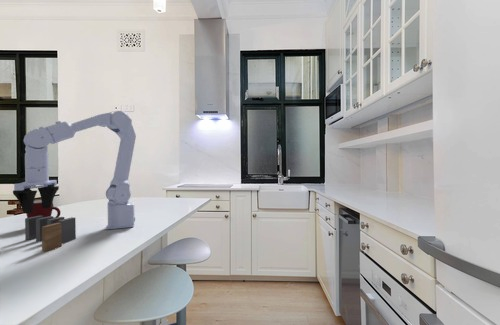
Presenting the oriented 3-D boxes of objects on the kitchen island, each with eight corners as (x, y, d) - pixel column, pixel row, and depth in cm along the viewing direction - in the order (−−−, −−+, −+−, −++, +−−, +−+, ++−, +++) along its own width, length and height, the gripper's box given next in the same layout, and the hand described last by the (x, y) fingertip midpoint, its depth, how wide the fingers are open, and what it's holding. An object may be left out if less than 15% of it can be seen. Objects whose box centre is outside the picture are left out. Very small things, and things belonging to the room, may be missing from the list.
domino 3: (53, 237, 83) (53, 216, 83) (40, 241, 79) (39, 219, 79) (50, 236, 83) (49, 216, 83) (36, 241, 79) (35, 219, 79)
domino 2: (64, 238, 82) (64, 216, 82) (51, 242, 78) (50, 220, 78) (60, 237, 82) (60, 216, 82) (47, 242, 78) (46, 219, 78)
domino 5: (75, 238, 81) (75, 217, 81) (62, 243, 77) (62, 220, 77) (71, 238, 81) (71, 217, 81) (58, 242, 77) (58, 220, 77)
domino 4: (61, 246, 74) (61, 223, 74) (46, 251, 70) (46, 226, 70) (57, 246, 74) (57, 222, 74) (42, 251, 70) (41, 226, 70)
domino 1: (43, 236, 84) (43, 215, 84) (29, 240, 80) (28, 218, 80) (39, 236, 84) (39, 215, 84) (25, 240, 80) (25, 218, 80)
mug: (61, 222, 103) (61, 198, 102) (59, 227, 96) (59, 201, 96) (28, 226, 97) (27, 201, 97) (23, 231, 90) (22, 204, 90)
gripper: (41, 167, 86) (42, 206, 86) (2, 169, 72) (3, 215, 72) (62, 167, 86) (63, 206, 87) (28, 168, 72) (29, 215, 72)
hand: (37, 210), depth 79 cm, fingers open, 7 cm apart
